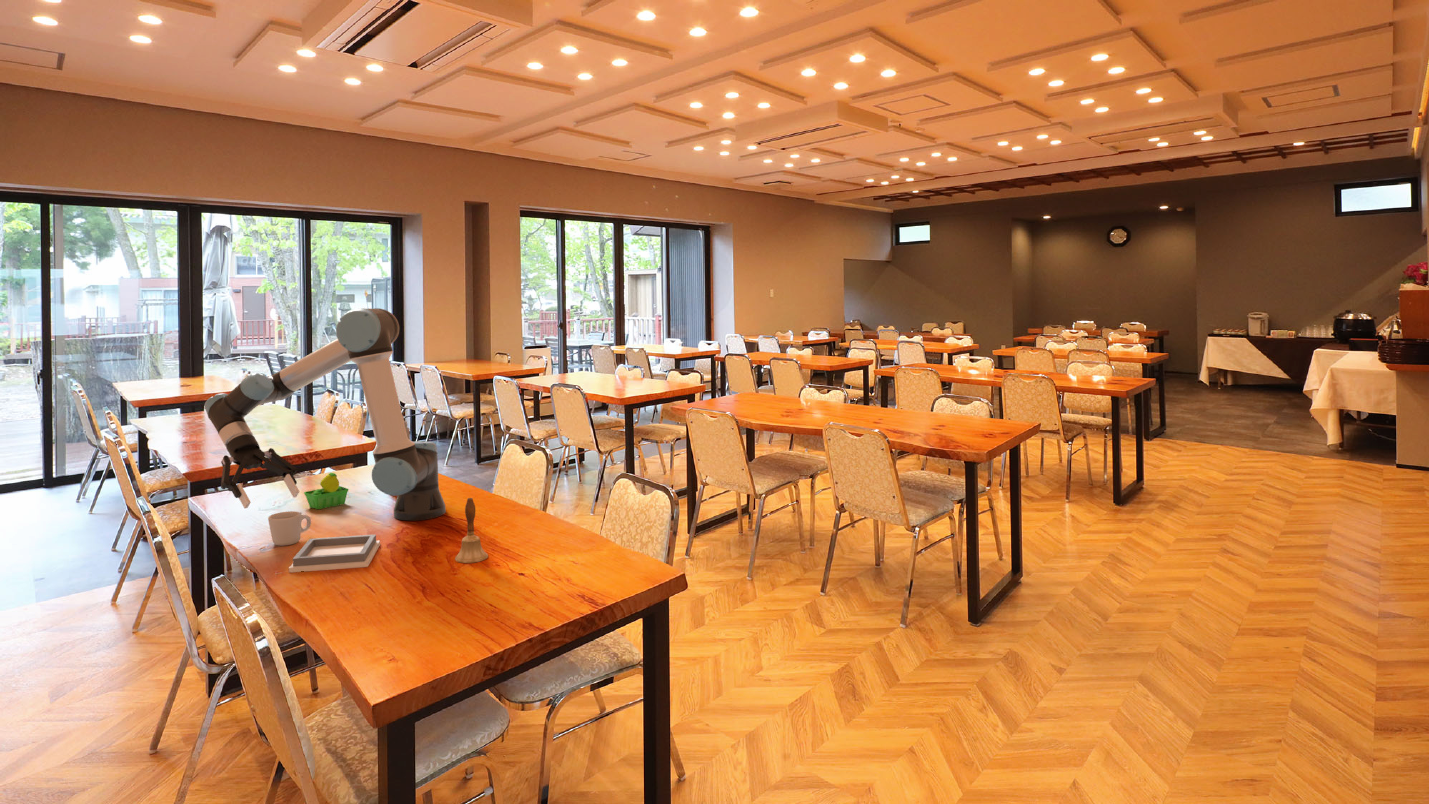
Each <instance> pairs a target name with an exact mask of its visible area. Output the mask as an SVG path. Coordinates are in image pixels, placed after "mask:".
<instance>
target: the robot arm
mask: <svg viewBox="0 0 1429 804" xmlns="http://www.w3.org/2000/svg"><path fill="white" fill-rule="evenodd" d="M335 329H336V330H335V334H336V339H334V340H333V341H330V342H329V343H327V344H326V345H324V346H322V347H320V348H318V349H317V350H314V351H313V352H311V353H309V354H308V355H305V356H304V357H302V358H299V360H296V361H294V362H293V363H291V364H290V365H288V366H286V367H284V368H282V369H281V370H278V371H277V372H275V373H273V374H272V375H269V376H266V375H264V374H262V373H259V372H254V373H251V374H250V375H248V376H247V377H245V378H244V379H243V380H242V381H241V382H240V383H239V384H238V385H237V386H236V387H235V388H234V389H232V390H231V391H230V392H229V393H217V394H215V395H214V396H211V397H209V398H208V399H207V400H206V401H205V403H204V410H205V412H206V414H207V418H208V419H209V420H210V422H211V424H212V425H213V426H214V428H215V429H216V432H217V435H219V437H220V439H221V441H222V443H223V444H224V446H225V449H226V450H227V452H228V454H229V456H228V455H226V454H225V455H224V456H223V457H222V459H221V461H220V463H221V466H222V474H221V481H220V489H222V490H226V489H227V491H228V492H231V493H232V494H233V496H234V498H236V499H239V501H240V503H241V505H242V506H243V508H244V509H248V508H249V506H250V504H251V500H250V498H249V496H248V495H247V493H246V491H245V489H244V488H243V485H242V484H241V483H238V481H239V480H240V477H241V475H242V473H243V471H244V469H245V470H247V471H249V470H251V469H258V468H261V469H265V470H267V471H269V472H272V473H274V474H277V475H278V476H281V477H282V478H283V482H284V483H285V485H286V487H287V489H288V491H289V492H290V494H291V495H292V497H293V499H294V498H297V497H298V495H299V493H300V490H299V488H298V486H297V480H296V478H295V474H296V473H297V471H298V468H297V467H296V466H294V465H293V464H291V463H290V462H289V461H287V460H286V459H285V458H283V457H282V456H281V455H279V454H278V453H277V452H276V451H275V449H274V448H272V447H270V448H269V449H268V450H266V451H263V450H262V449H261V447H260V444H259V442H258V441H257V439H256V437H255V436H254V434H253V432H252V429H250V427H249V425H248V424H247V422H246V420H245V417H246V416H248V415H249V414H250V413H251V412H252V411H253V410H254V409H256V408H257V407H258V406H261V405H263V404H264V405H265V404H268V403H272V402H277V401H278V402H279V401H284V400H286V399H287V398H290V397H291V396H292V395H293V394H294V393H296V391H298V390H300V389H302V388H304V387H306V386H307V385H310V384H311V383H313V382H315V381H316V380H319V379H320V378H322V377H324V376H326V375H327V374H329V373H331V372H333V371H334V370H337V369H338V368H340V367H342V366H344V365H346V364H347V363H349V362H352V363H354V364H355V365H356V366H357V370H358V374H359V379H360V382H361V387H362V391H363V393H364V398H365V403H366V406H367V411H368V415H369V418H370V423H371V427H372V431H373V435H374V439H375V443H376V447H375V448H374V449H373V451H372V455H373V460H374V463H375V464H374V466H373V468H372V469H371V470H372V471H371V480H372V483H373V484H374V486H375V487H376V488H377V490H378V491H380V492H382V493H383V494H385V495H388V496H394V497H395V496H396V501H395V504H394V507H393V517H394V519H396V520H400V521H401V520H402V521H424V520H431V519H435V518H438V517H441V516H443V515H444V514H445V513H446V512H447V511H446V504H445V501H444V499H443V496H442V493H441V491H440V487H439V461H438V454H439V452H438V447H437V444H436V443H435V442H434V441H420V440H419V441H412V440H411V439H410V440H409V439H408V437H407V433H406V429H405V424H404V421H405V419H404V420H403V416H404V415H403V416H402V413H403V412H402V408H401V404H400V403H401V402H400V401H399V400H400V399H399V396H398V392H397V387H396V383H395V379H394V375H393V371H392V366H391V361H390V357H391V355H392V354H393V353H394V349H393V345H392V344H393V343H394V342H395V341H396V340H397V338H398V337H399V334H400V324H399V321H398V319H397V317H396V316H395V315H394V314H393V313H392V312H390V311H389V310H387V309H383V308H379V307H378V308H377V307H376V308H375V307H374V308H365V307H364V308H357V309H352V310H349V311H347V312H345V313H344V314H343V315H342V316H341V317H340V319H339V320H338V321H337V325H336V328H335ZM232 463H233V464H235V465H237V466H238V467H237V470H236V472H235V474H234V476H233V478H232V479H231V481H230V472H231V466H232Z"/></svg>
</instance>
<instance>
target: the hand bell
mask: <svg viewBox="0 0 1429 804" xmlns="http://www.w3.org/2000/svg"><path fill="white" fill-rule="evenodd" d="M464 515H465V519H466V521H467V526H466V527H467V532H466V535H465V536H464V537H462V539H461V547H460V550H459V552H458V554H457V555H455V558H454V560H455V562H457V563H461V564H462V563H463V564H473V563H479V562H482V561H485V560H487V559H488V558H489V555H488V553H487V552H485V550H484V549H483V547H482V543H481V538H480V536H477V535H475V530H474V529H475V525H474V522H475V517H476V505H475V502H474V499H473V497H468V498H467V499H466V504H465V507H464Z"/></svg>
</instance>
